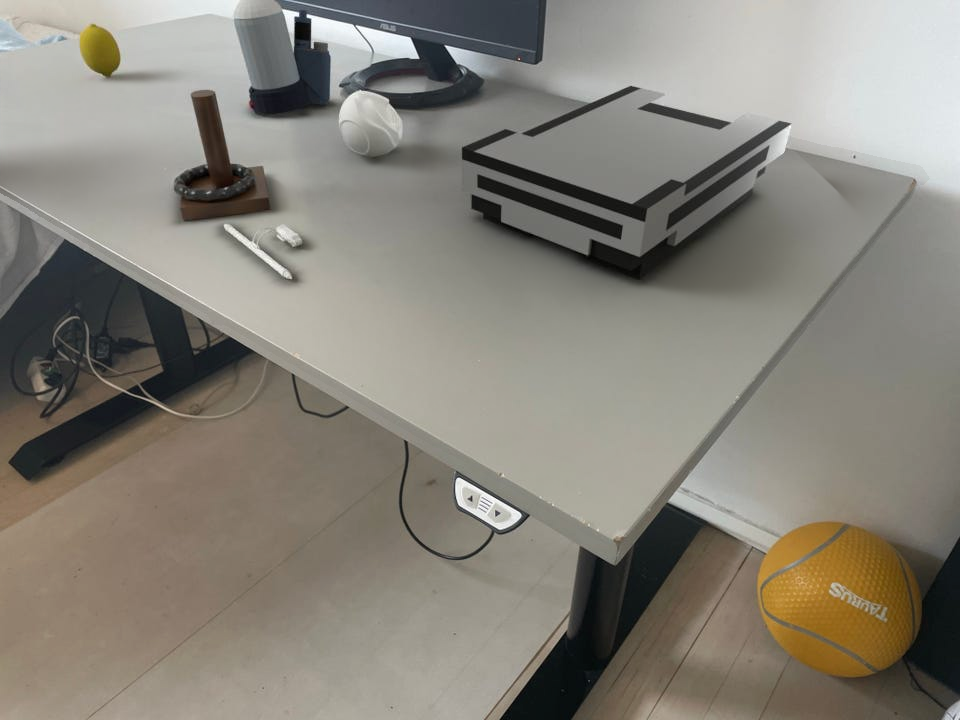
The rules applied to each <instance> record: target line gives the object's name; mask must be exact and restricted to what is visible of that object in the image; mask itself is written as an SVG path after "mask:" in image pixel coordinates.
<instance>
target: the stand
mask: <svg viewBox="0 0 960 720" xmlns="http://www.w3.org/2000/svg"><path fill="white" fill-rule="evenodd" d="M190 99H191V103H192V106H193V111H194V115H195V119H196V125H197V127H198V128H197V129H198V131H199V137H200V142H201V144H202V148H203V152H204V153H203V154H204V157H205V161H206V162H205V163H206V164H207V166H208V170H209V174H210V175H206V176H203V177H200V178H197V179H194V180H192V181H191V182H189V183H188V184H187V185H186V186H187V187H189V188H191V189H198V190H212V189H220V188H225V187H228V186H231V185H234V184H237V183H238V182H240V181H241V180H242V179H243V177H241V176H239V175H234V174H233V172H232V168H231V163H232V162H231V159H230V155H229V149H228V145H227V141H226V136H225V132H224V128H223V123H222V121H223V120H222V117H221V112H220V108H219V103H218V99H217V94H216V91H214V90H212V89H200V90H195V91H192V92H190ZM245 167H246V166H245ZM246 168H249V169H251V170H252V171H253V173H254V179H255V183H254V185H253V186H252V187H251V188H250V189H248V190H247V191H246V192H245V193H243V194H241V195H238V196H235V197H232V198H230V199H227V200H219V201H210V202H202V201H193V200H187V199H185V198H183V197H182V196H180V202H179V210H180V213H181V217H182V220H183V221H184V222H185V221H193V220H201V219H209V218H216V217H226V216H233V215H240V214H241V215H243V214H250V213H259V212H265V211H266V212H267V211H271V210H272V209H271V202H270V197H269V191H268V185H267V180H266V174H265V168H264V165H257V166H248V167H246Z"/></svg>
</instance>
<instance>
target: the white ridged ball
mask: <svg viewBox="0 0 960 720" xmlns="http://www.w3.org/2000/svg"><path fill="white" fill-rule="evenodd" d="M338 129H339V133H340V136H341V139H342V140H343V142H344V144H346V146H347V147H348V148H349V149H350V150H351V151H353V152H354V153H356V154H359V155H361V156H364V157H373V158H374V157H375V158H377V157H381V156H382V157H383V156H385V155H387V154H389V153H390V152H392V151H393V150H395V149H396V148H397V147H398V145H399V142H401V139H402V137H403V121H402V119H401V117H400V115H399V114H398V112H397V111H396V110H395V108H394V107H393V105H391V104H390V99H389V98H388V97H385V96H383V95H381V94H378V93H376V92H372V91H367V90H356V91H355V92H353V93H351V94H350V95H348V96H347V97H346V98H345V100H344V101H343V103H342V105H341V107H340V110H339V113H338Z"/></svg>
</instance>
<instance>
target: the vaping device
mask: <svg viewBox="0 0 960 720" xmlns="http://www.w3.org/2000/svg"><path fill="white" fill-rule="evenodd" d="M293 25H294V26H293V30H294V31H293V53H294V57H295V61H296V65H297V70H298V74H299V78H301V79H303V80H304V81H305V86H306V87H307V91H308V96H309V100H310V103H309V104H316V105H328V104H329V101H330V98H331V70H332V69H331V67H332V66H331V65H332V64H331V63H332V62H331V61H332V56H331V54H330V51H329V50H328V49H329V43H327V42H323V41H322V42H321V41H313V47H312V18H311V17H308V11H307V10H306V9H298V16H294V17H293Z"/></svg>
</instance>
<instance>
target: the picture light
mask: <svg viewBox="0 0 960 720" xmlns="http://www.w3.org/2000/svg"><path fill="white" fill-rule="evenodd" d="M223 227H224V229H225V231H226V232H227V233H228V234H231V235H232V236H233V237H234V238H235V239H236V240H238V241H239V242H241V243H242V244H243V245H244V246H245V247H246V248H248V250H250V251H251V252H253V253H254V254H255V255H256V256H257V257H259V258H260V259H261V260H263V261H264V262H265V263H266V264H267V265H269V266H270V267H271V268H273V269H274V270H275V271H276V272H277V273H279V274H280V276H281V277H283V278H285V279H287V280H293V276H292V274H291V272H290V271H289V270H288V269H287V268H285V267H284V266H283V265H281V264H280V263H279V262H277V261H276V259H275V260H274V259H273V258H272V257H271V256H270V255H269V254H267V253H266V252H265V251H263V250H262V248H261V247H260V245H259V242H260V240H261V239H262V237H263V236H264V235H265V234H267V233H275V234H276V238H277V239H279V240H280V241H281V242H283V243H286V242H287V243H289V244H290V245H291V246H292V247H293V248H295V247H298V246H301V245H302V244H303V240H302V238H301V237H300V235H299V233H297V232H295V231H293V230H292V229H290V228H289V227H288V226H287V225H286V224H280V225H278V226H277V227H276V228H275V229H274V228H272V227H262V228H261V229H259V230H258V231H256V233H255V234H254V236H253V238H252V241H251V240H250V239H249V238H247V237H246V236H245V235H243V234H242V233H241V232H240V231H238V230H237V229H236V228H235V227H234V226H232V225H231V224H229V223H223ZM263 230H267V231H264V232H263V233H261V231H263ZM260 233H261V235H260V236H259V237H258V239H257V241H256V243H255V239H256V237H257V235H258V234H260Z"/></svg>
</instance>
